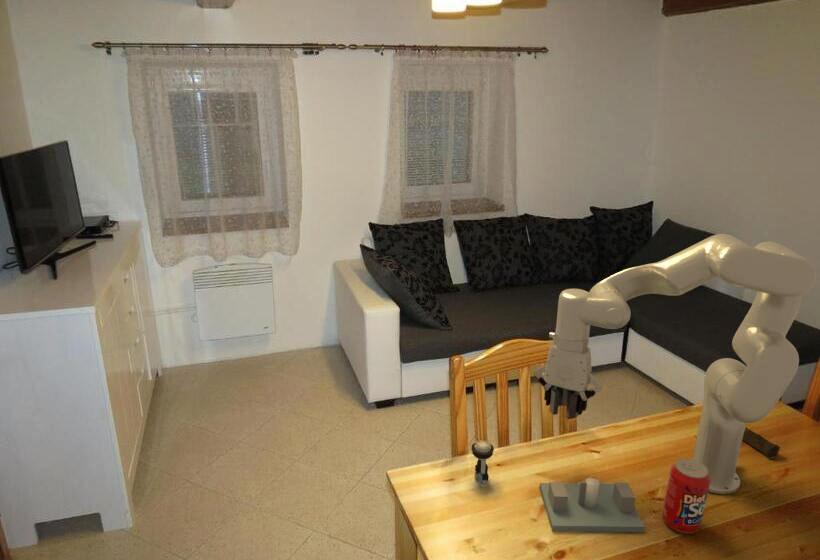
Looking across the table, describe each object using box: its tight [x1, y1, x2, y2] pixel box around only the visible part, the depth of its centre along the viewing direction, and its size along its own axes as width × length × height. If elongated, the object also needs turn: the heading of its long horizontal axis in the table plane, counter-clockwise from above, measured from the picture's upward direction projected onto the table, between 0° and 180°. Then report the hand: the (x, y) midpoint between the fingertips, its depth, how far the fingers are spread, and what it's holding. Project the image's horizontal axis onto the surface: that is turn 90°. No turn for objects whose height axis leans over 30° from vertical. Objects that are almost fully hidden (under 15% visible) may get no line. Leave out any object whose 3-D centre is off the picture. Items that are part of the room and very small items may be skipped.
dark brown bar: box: [742, 427, 781, 459], centre depth 160 cm, size 19×4×5 cm, turn 19°
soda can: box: [661, 457, 710, 534], centre depth 128 cm, size 8×8×15 cm
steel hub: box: [549, 385, 581, 420], centre depth 142 cm, size 7×7×6 cm
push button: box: [470, 439, 495, 489], centre depth 142 cm, size 7×5×10 cm
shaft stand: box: [539, 477, 646, 533], centre depth 133 cm, size 20×14×8 cm
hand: (564, 407), depth 142 cm, fingers closed on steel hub, 7 cm apart
